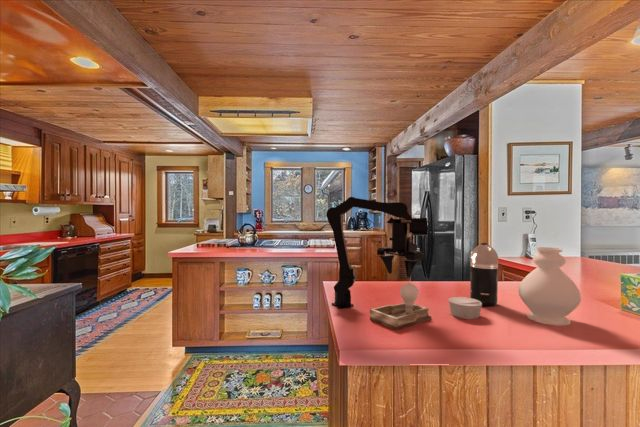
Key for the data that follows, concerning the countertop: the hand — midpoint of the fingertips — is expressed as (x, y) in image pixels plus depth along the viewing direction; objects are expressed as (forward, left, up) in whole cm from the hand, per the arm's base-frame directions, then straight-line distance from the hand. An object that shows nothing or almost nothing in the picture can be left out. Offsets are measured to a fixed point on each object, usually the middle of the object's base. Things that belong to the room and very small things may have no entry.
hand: (399, 275), depth 124 cm
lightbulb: (+8, -4, -12) cm, 15 cm away
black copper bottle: (+14, +35, -13) cm, 40 cm away
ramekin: (+18, +15, -13) cm, 27 cm away
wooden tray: (+8, -8, -13) cm, 17 cm away
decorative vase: (+37, +35, -13) cm, 53 cm away
